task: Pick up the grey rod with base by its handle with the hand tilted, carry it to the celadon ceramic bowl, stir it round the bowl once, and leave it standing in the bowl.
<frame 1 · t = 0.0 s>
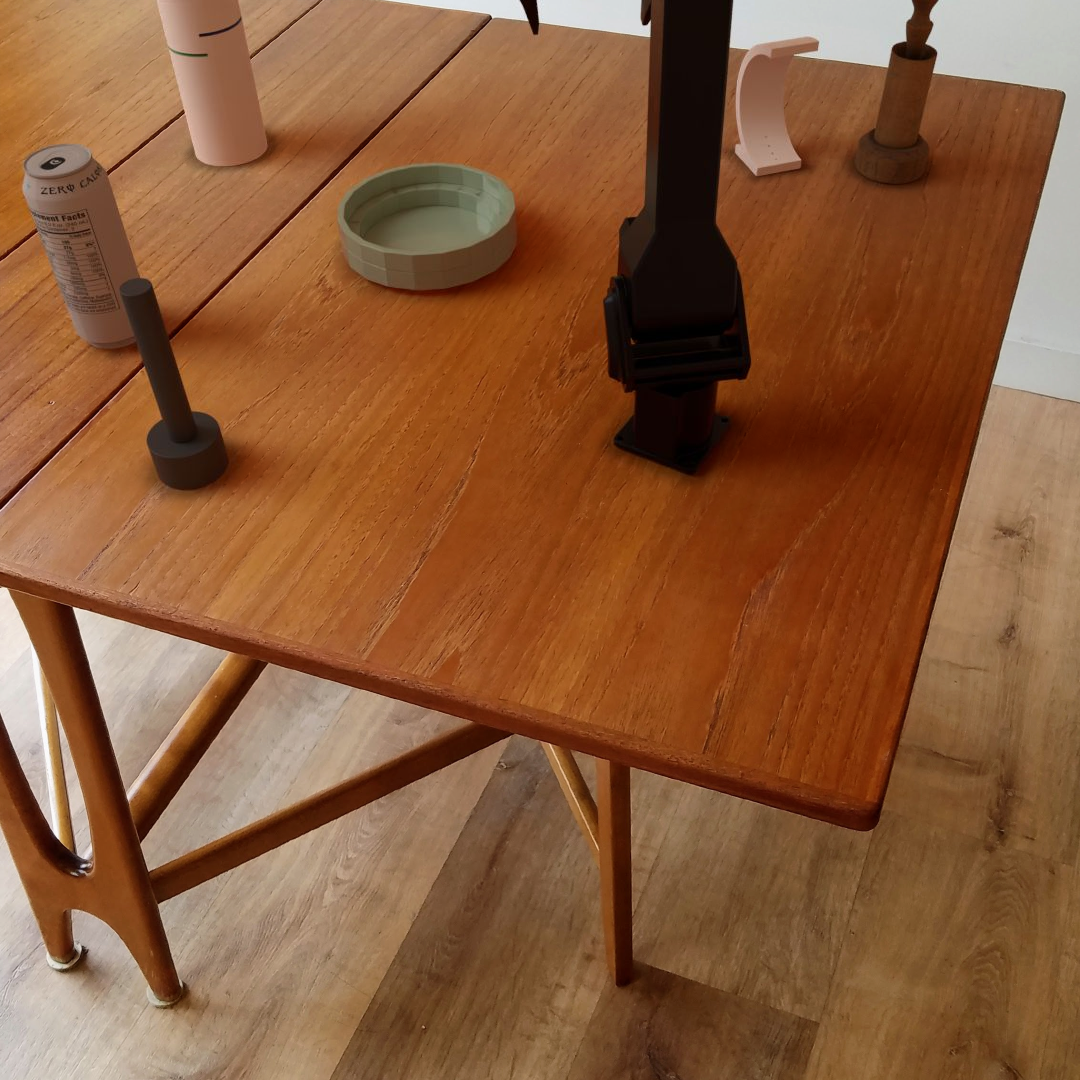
hand: (589, 26, 96), 15 cm above the table, tool pointing down, fingers open, 9 cm apart
cylindrical container: (232, 150, 115), on the table
energy drink can: (117, 332, 94), on the table
bowl: (430, 247, 102), on the table
headphone stand: (764, 159, 111), on the table
grey rod with base: (193, 465, 82), on the table
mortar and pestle: (888, 169, 110), on the table
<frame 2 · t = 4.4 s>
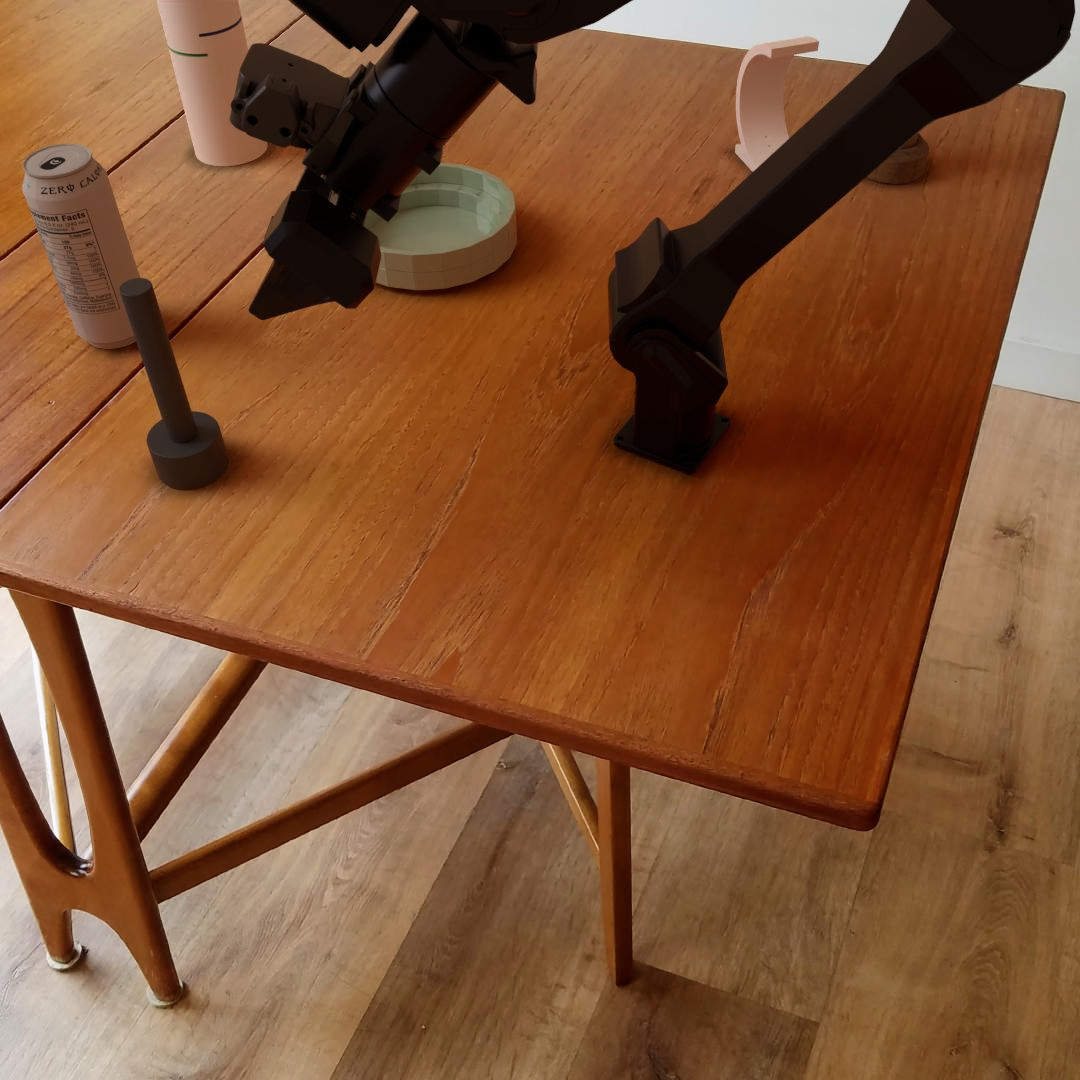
hand: (269, 273, 74), 14 cm above the table, tool tilted 45°, fingers open, 9 cm apart
nothing on the table moved.
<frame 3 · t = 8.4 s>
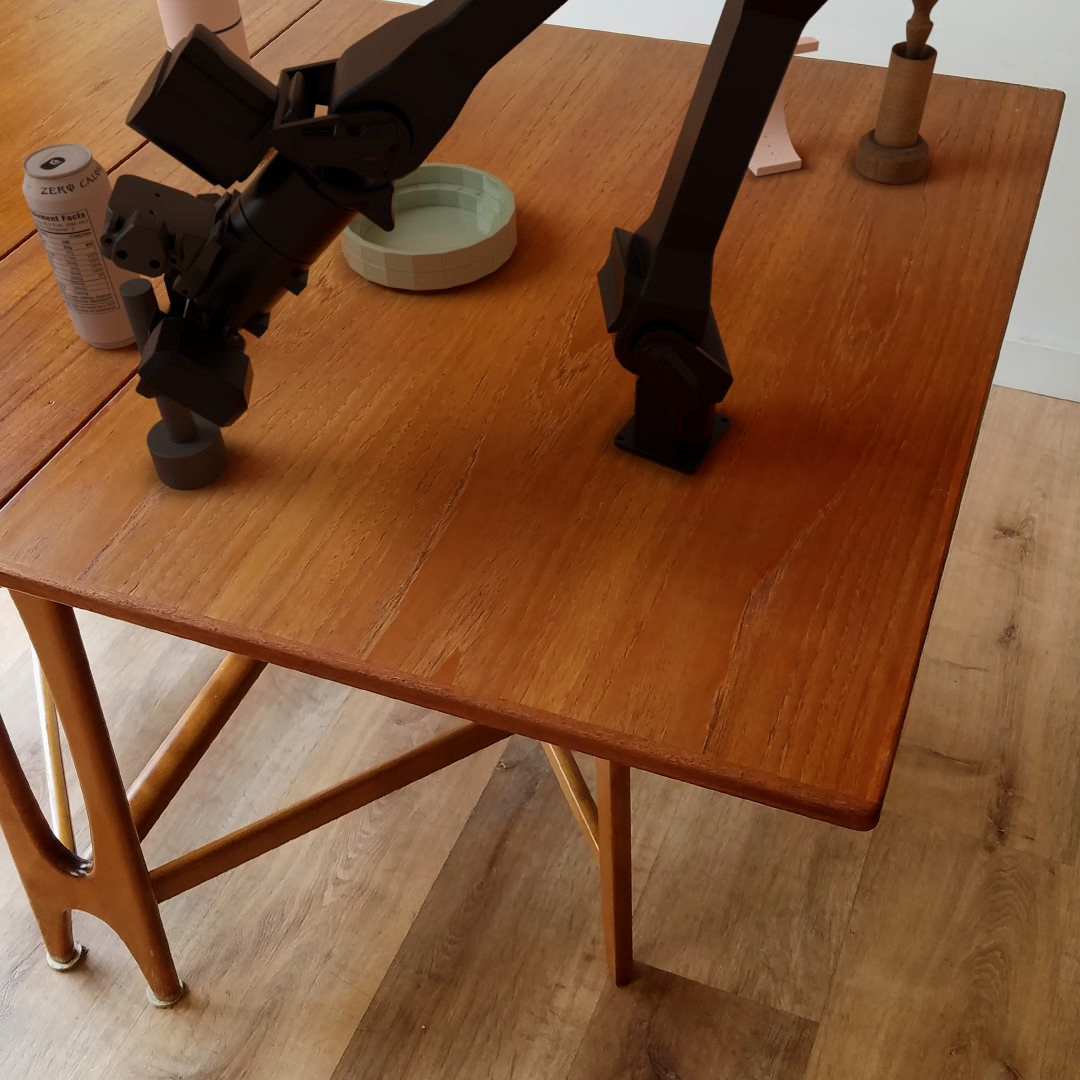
hand: (145, 382, 77), 8 cm above the table, tool tilted 45°, fingers closed on grey rod with base
grey rod with base: (193, 465, 82), on the table, touching gripper
everything else where it was.
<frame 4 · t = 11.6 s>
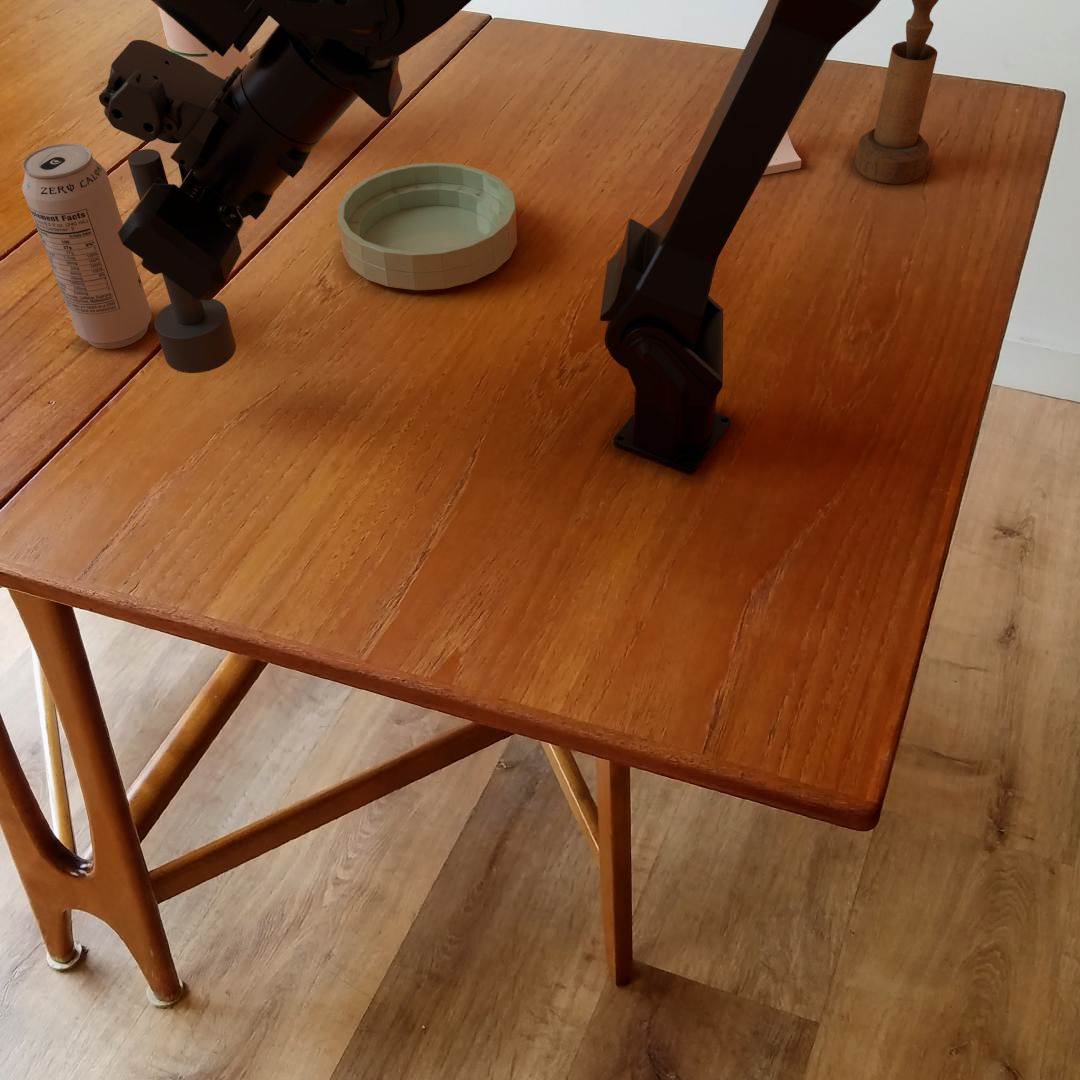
hand: (154, 259, 77), 13 cm above the table, tool tilted 45°, fingers closed on grey rod with base
grey rod with base: (200, 351, 83), point 5 cm above the table, touching gripper
everything else where it was.
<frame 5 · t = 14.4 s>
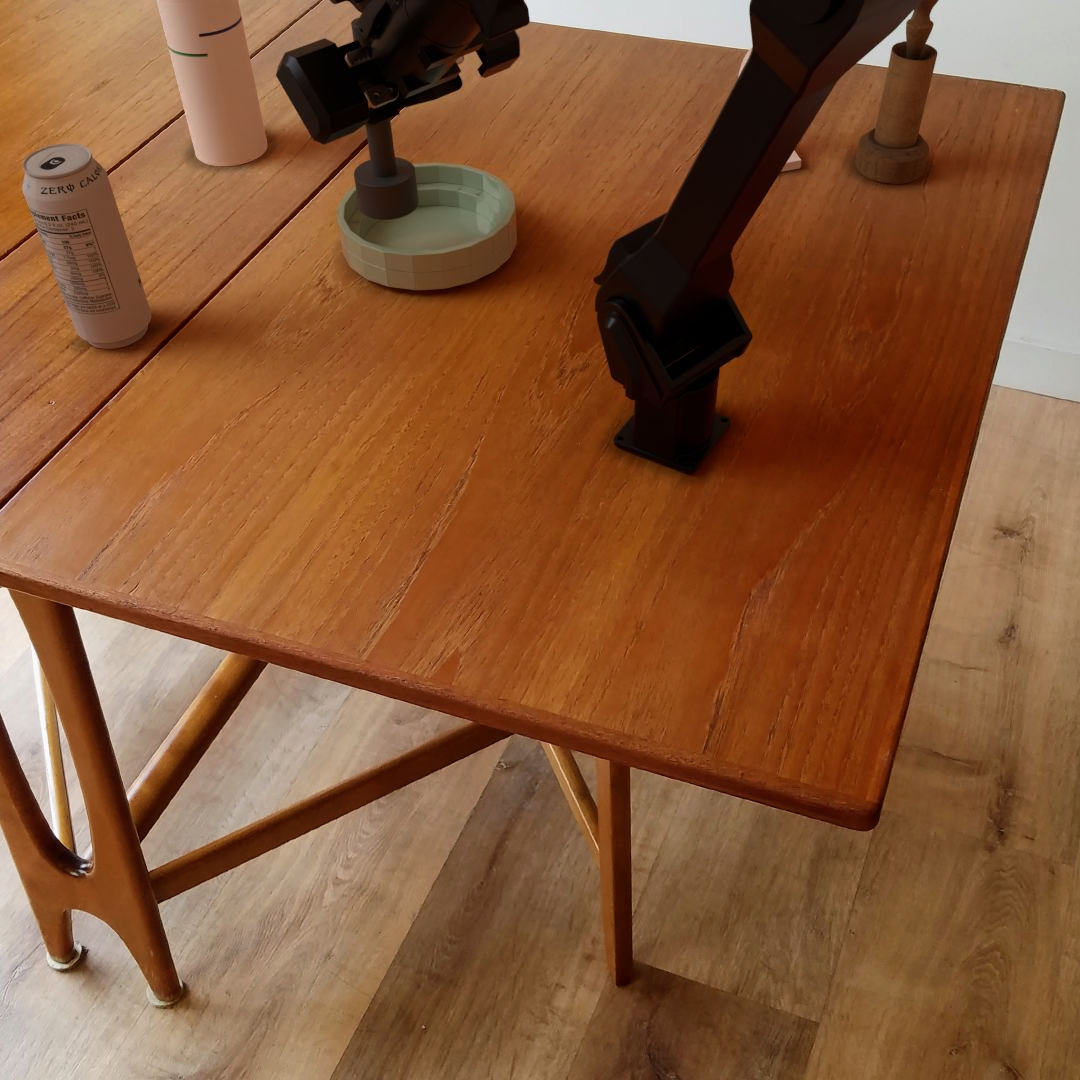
hand: (367, 112, 92), 13 cm above the table, tool tilted 45°, fingers closed on grey rod with base
grey rod with base: (388, 204, 96), point 5 cm above the table, touching gripper
everything else where it was.
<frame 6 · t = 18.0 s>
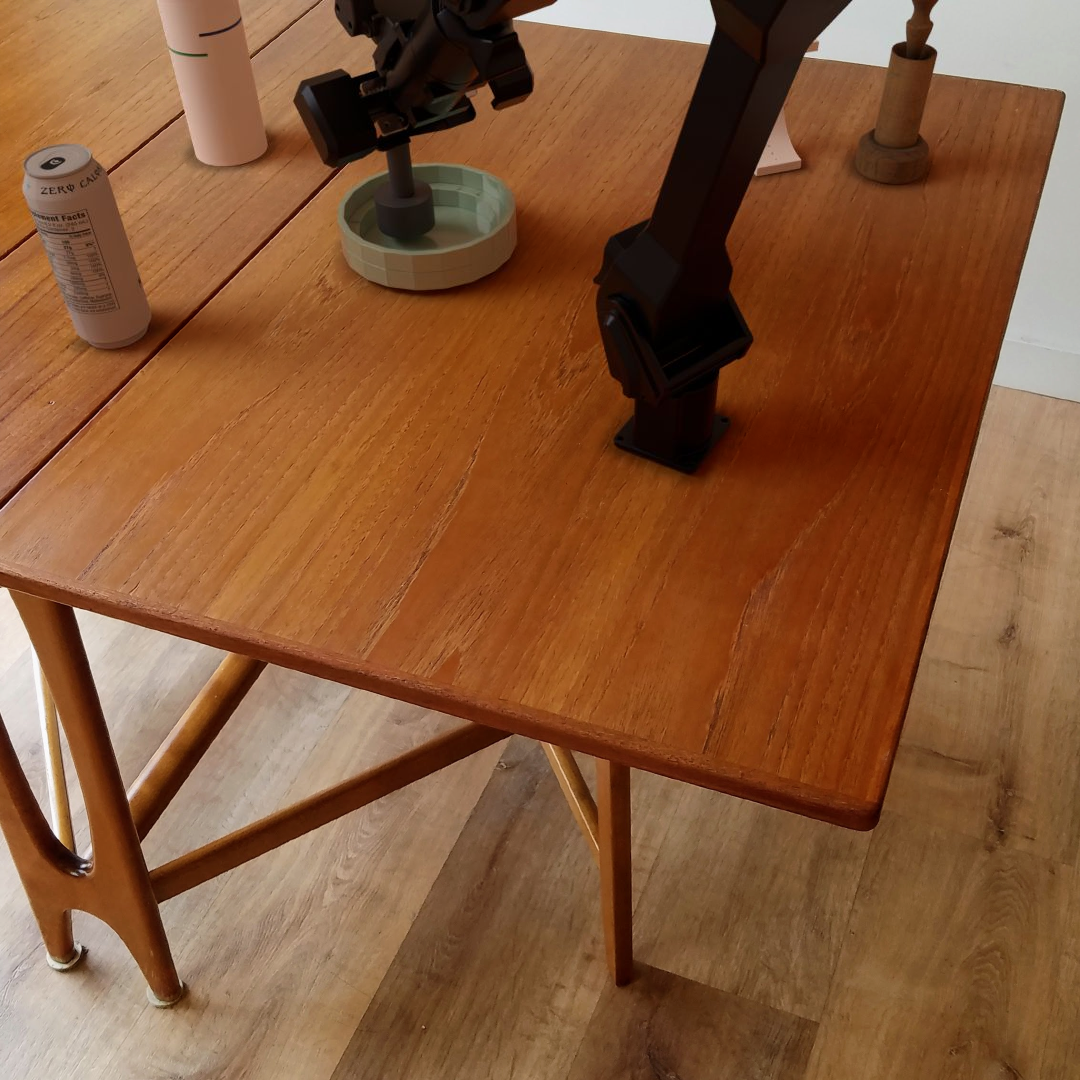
hand: (388, 136, 96), 9 cm above the table, tool tilted 45°, fingers closed on grey rod with base
grey rod with base: (406, 223, 101), point 2 cm above the table, touching gripper
everything else where it was.
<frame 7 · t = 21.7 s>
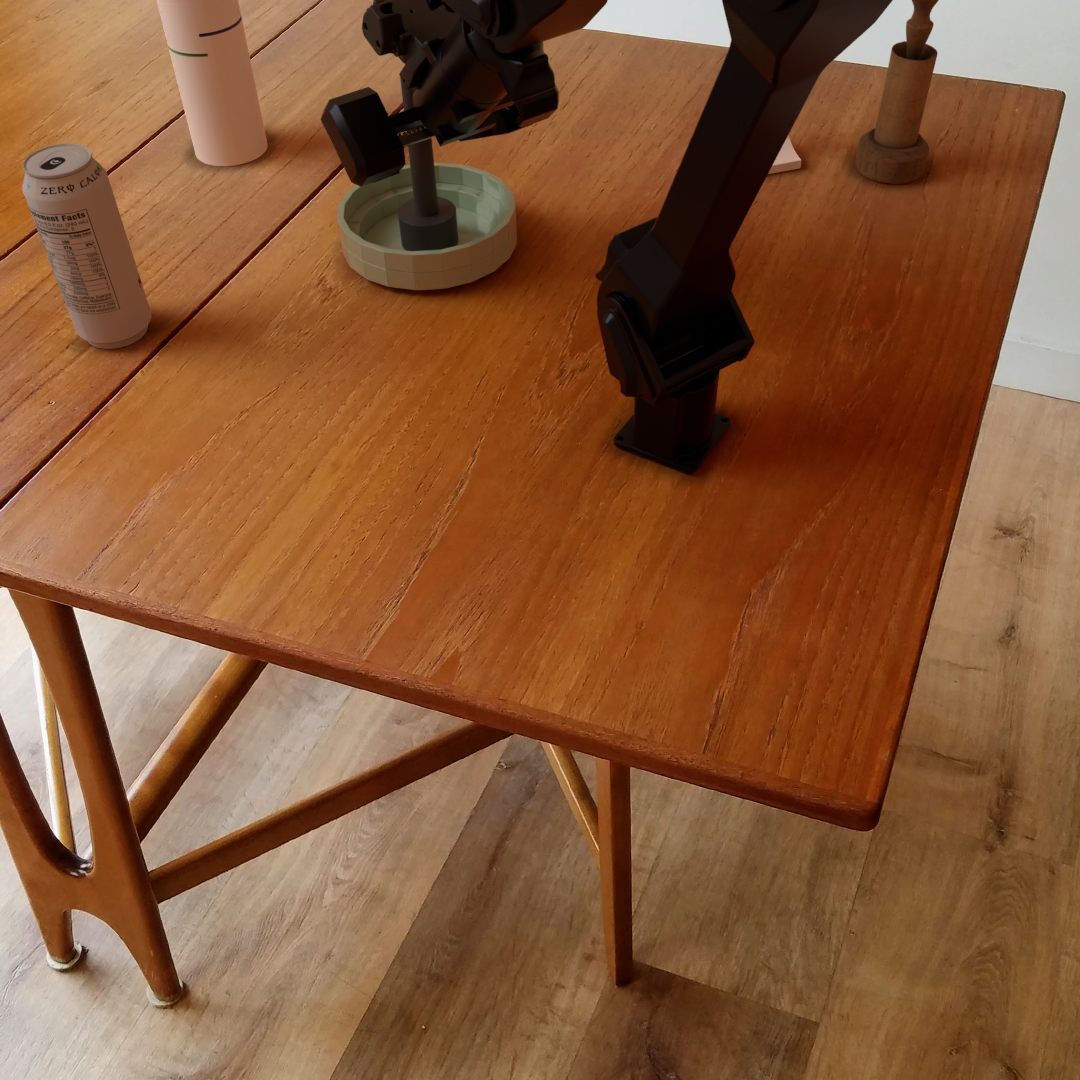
hand: (412, 151, 96), 8 cm above the table, tool tilted 45°, fingers open, 9 cm apart
grey rod with base: (430, 241, 101), point 1 cm above the table, touching bowl
everything else where it was.
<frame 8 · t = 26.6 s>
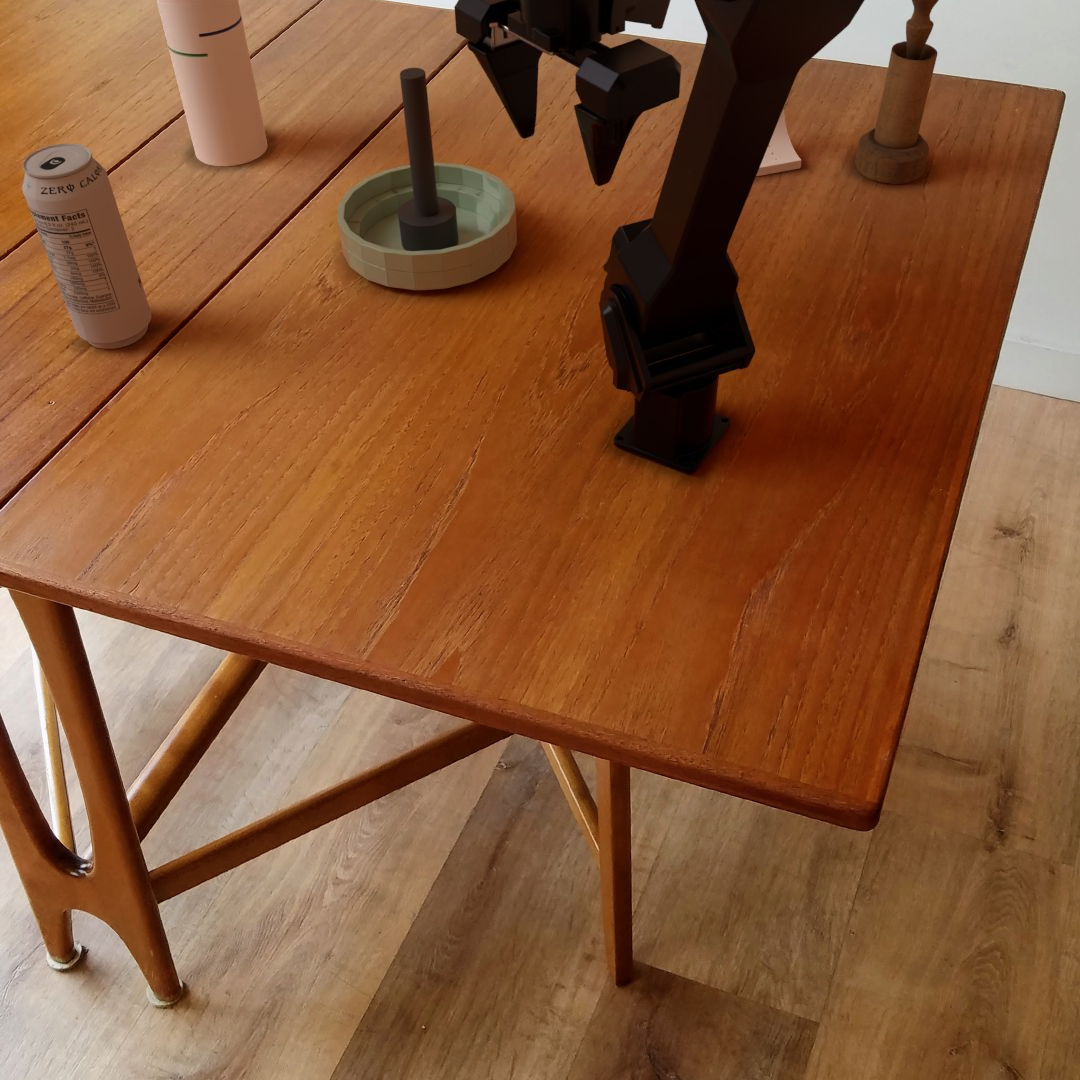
hand: (563, 159, 85), 13 cm above the table, tool pointing down, fingers open, 9 cm apart
nothing on the table moved.
at the end: grey rod with base inside the target area in the bowl (0.0 cm from its centre), point 0.6 cm above the bowl's base; grey rod with base tilted 0°; grey rod with base moved 32.0 cm from its start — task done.
